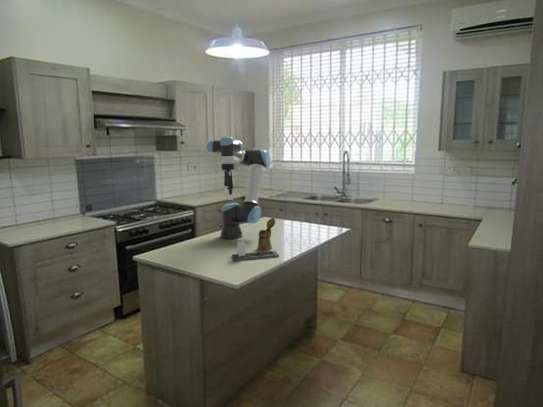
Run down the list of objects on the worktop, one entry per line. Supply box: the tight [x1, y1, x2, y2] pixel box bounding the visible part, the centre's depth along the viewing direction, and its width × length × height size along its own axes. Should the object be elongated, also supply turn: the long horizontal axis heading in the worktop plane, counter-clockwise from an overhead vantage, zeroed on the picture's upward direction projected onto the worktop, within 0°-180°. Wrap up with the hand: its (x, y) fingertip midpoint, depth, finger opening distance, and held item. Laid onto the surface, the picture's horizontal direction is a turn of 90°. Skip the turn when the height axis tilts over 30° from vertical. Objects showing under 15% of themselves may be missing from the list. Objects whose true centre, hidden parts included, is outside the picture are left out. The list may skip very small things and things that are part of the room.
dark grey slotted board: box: [231, 250, 280, 262], centre depth 224 cm, size 9×26×1 cm, turn 104°
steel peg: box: [236, 240, 246, 258], centre depth 222 cm, size 4×4×9 cm
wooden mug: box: [256, 217, 276, 251], centre depth 241 cm, size 9×14×18 cm, turn 139°
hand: (228, 198), depth 237 cm, fingers open, 13 cm apart
